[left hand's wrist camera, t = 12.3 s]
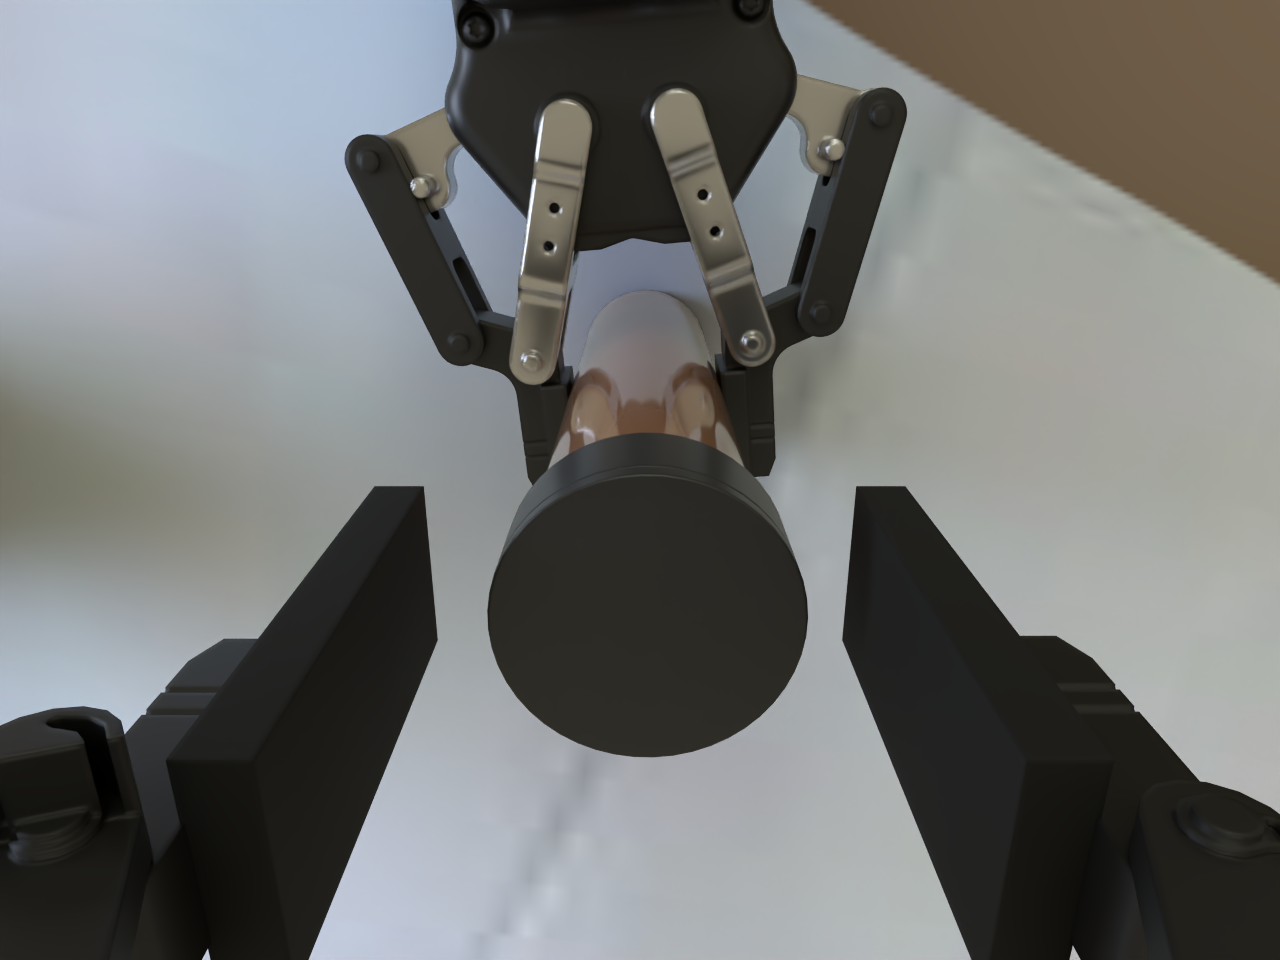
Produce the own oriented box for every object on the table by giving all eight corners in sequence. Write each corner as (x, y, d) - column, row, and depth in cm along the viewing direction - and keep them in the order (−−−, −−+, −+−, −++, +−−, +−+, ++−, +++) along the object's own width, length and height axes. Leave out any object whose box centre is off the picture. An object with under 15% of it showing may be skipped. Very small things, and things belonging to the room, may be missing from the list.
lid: (666, 371, 14) (670, 405, 12) (844, 582, 15) (872, 643, 13) (447, 549, 15) (419, 607, 13) (630, 732, 16) (627, 809, 14)
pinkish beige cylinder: (653, 264, 30) (666, 425, 12) (728, 357, 31) (838, 625, 14) (561, 342, 31) (454, 594, 13) (638, 430, 32) (631, 769, 14)
